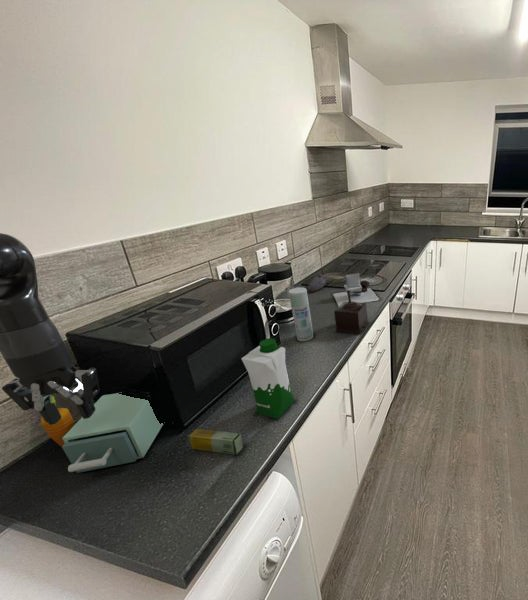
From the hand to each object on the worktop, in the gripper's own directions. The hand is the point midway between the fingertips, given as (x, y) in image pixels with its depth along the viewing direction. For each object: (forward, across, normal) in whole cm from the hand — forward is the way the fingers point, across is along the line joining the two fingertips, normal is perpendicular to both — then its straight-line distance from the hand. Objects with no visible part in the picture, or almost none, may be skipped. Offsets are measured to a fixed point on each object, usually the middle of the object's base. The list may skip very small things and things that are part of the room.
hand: (72, 418), depth 65 cm
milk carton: (+17, -35, -13) cm, 41 cm away
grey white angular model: (+17, -66, -90) cm, 113 cm away
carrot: (+17, +12, -11) cm, 23 cm away
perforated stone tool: (+17, -47, -108) cm, 119 cm away
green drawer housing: (+16, 0, -11) cm, 20 cm away
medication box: (+17, -23, -2) cm, 28 cm away
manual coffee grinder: (+17, -62, -58) cm, 87 cm away
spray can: (+17, -42, -53) cm, 69 cm away
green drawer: (+16, 0, -6) cm, 17 cm away
